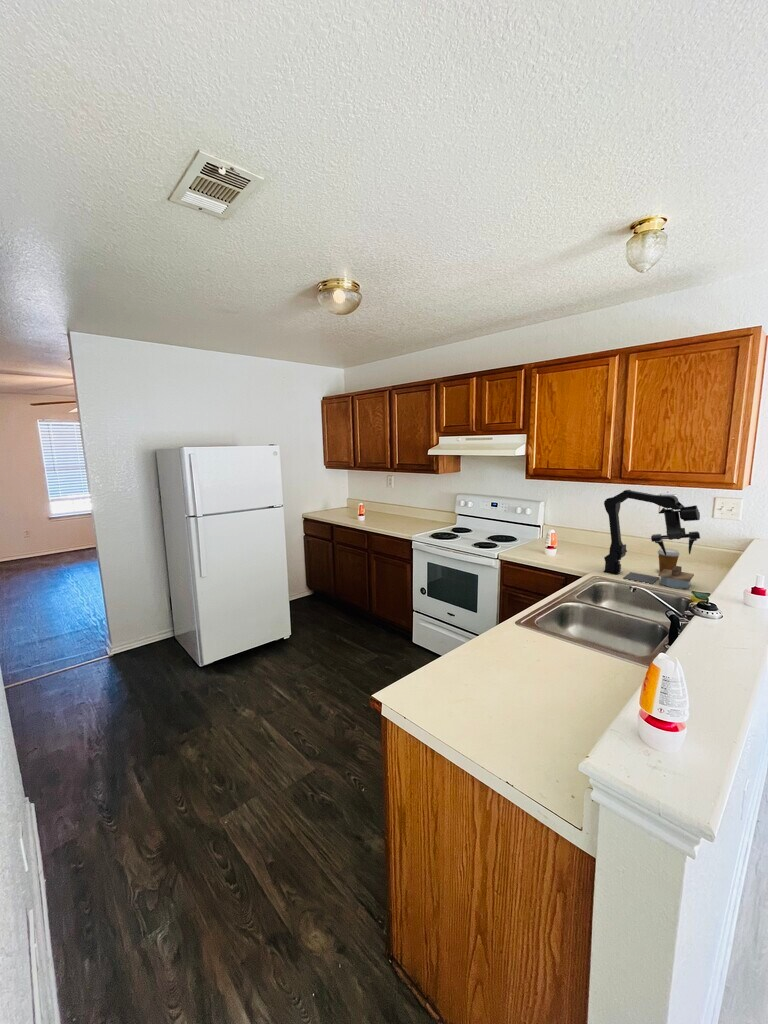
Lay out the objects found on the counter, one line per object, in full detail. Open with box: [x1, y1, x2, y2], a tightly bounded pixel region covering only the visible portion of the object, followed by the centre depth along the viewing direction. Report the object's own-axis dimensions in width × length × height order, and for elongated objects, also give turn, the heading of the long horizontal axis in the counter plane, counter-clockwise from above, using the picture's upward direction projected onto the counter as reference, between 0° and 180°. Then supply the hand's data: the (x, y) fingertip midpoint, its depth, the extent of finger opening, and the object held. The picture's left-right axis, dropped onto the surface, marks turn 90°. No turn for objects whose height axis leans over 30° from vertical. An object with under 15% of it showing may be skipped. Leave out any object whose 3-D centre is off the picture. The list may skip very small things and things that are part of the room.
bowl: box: [660, 577, 692, 589], centre depth 198 cm, size 11×11×4 cm
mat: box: [622, 571, 661, 585], centre depth 208 cm, size 13×13×1 cm
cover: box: [657, 565, 695, 583], centre depth 197 cm, size 12×12×4 cm
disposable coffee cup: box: [657, 548, 681, 573], centre depth 216 cm, size 10×10×12 cm
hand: (677, 554), depth 196 cm, fingers open, 9 cm apart
